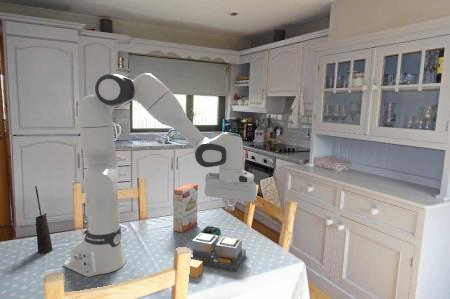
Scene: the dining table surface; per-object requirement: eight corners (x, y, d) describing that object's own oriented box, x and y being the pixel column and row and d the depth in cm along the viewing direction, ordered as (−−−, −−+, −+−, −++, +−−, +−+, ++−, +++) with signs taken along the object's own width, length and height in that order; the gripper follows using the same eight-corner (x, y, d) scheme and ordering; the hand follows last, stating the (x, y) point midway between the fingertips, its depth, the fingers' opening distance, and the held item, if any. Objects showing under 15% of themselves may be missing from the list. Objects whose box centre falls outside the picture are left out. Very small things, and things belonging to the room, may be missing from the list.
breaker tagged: (220, 249, 121) (221, 242, 121) (225, 244, 126) (225, 237, 125) (233, 252, 119) (233, 244, 119) (237, 246, 124) (237, 239, 124)
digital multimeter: (221, 233, 150) (221, 227, 150) (208, 246, 136) (208, 240, 136) (206, 230, 153) (206, 224, 153) (192, 243, 139) (192, 237, 138)
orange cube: (186, 275, 113) (186, 264, 112) (191, 269, 117) (191, 259, 116) (197, 277, 111) (197, 267, 111) (202, 271, 115) (202, 261, 115)
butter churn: (48, 242, 136) (43, 180, 132) (64, 246, 132) (60, 182, 128) (28, 252, 127) (22, 185, 123) (45, 256, 124) (40, 188, 120)
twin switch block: (186, 262, 122) (186, 243, 121) (201, 246, 135) (201, 229, 134) (235, 272, 115) (236, 252, 114) (245, 255, 128) (246, 237, 127)
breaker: (197, 245, 124) (197, 238, 124) (202, 240, 129) (202, 233, 129) (209, 247, 123) (209, 240, 122) (213, 242, 127) (213, 235, 127)
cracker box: (183, 233, 148) (183, 190, 145) (172, 231, 151) (172, 189, 148) (198, 223, 161) (198, 184, 158) (188, 221, 163) (188, 182, 160)
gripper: (202, 173, 119) (201, 208, 121) (254, 179, 112) (253, 215, 114) (208, 170, 125) (208, 203, 127) (258, 175, 118) (257, 210, 120)
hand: (229, 209), depth 120 cm, fingers closed
